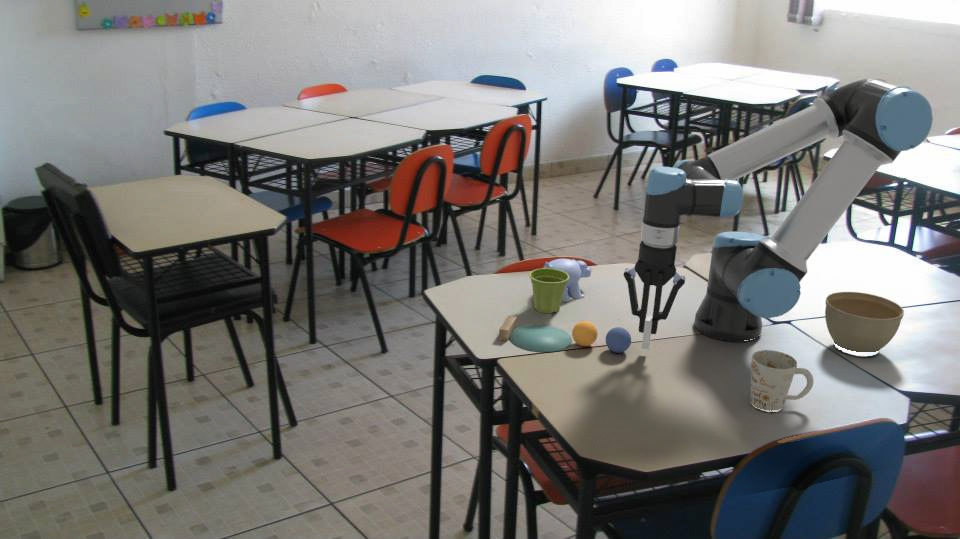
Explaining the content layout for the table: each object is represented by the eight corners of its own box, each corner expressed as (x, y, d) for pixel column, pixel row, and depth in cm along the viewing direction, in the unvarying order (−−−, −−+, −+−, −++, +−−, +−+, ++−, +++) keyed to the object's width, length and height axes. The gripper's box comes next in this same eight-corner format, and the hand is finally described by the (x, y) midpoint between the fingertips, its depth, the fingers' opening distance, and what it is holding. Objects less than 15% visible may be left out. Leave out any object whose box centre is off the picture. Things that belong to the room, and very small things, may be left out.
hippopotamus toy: (601, 293, 229) (604, 257, 226) (556, 305, 221) (559, 268, 217) (572, 279, 237) (575, 245, 234) (528, 290, 229) (530, 255, 225)
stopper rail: (516, 326, 207) (516, 316, 206) (507, 340, 200) (508, 330, 199) (507, 325, 208) (508, 315, 207) (498, 339, 200) (499, 329, 199)
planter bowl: (890, 341, 209) (900, 297, 206) (897, 370, 195) (908, 324, 191) (816, 329, 214) (824, 286, 210) (818, 357, 199) (827, 311, 196)
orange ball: (604, 330, 200) (587, 312, 200) (600, 340, 195) (583, 322, 195) (585, 344, 203) (569, 326, 202) (581, 354, 198) (565, 336, 197)
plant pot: (563, 318, 213) (566, 284, 210) (524, 314, 214) (526, 279, 211) (568, 304, 221) (571, 270, 218) (530, 299, 223) (532, 266, 220)
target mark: (576, 330, 207) (576, 329, 207) (565, 356, 194) (566, 355, 194) (516, 321, 210) (516, 320, 210) (502, 346, 197) (502, 345, 197)
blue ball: (609, 319, 198) (603, 341, 200) (608, 332, 193) (602, 353, 195) (634, 326, 197) (628, 347, 200) (633, 338, 192) (627, 360, 195)
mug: (738, 395, 181) (745, 349, 177) (799, 395, 182) (807, 350, 179) (753, 416, 173) (761, 369, 170) (816, 416, 174) (826, 369, 171)
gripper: (624, 244, 186) (613, 348, 194) (689, 252, 183) (675, 358, 191) (628, 233, 193) (617, 334, 201) (691, 241, 190) (677, 344, 198)
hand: (645, 346), depth 196 cm, fingers closed
